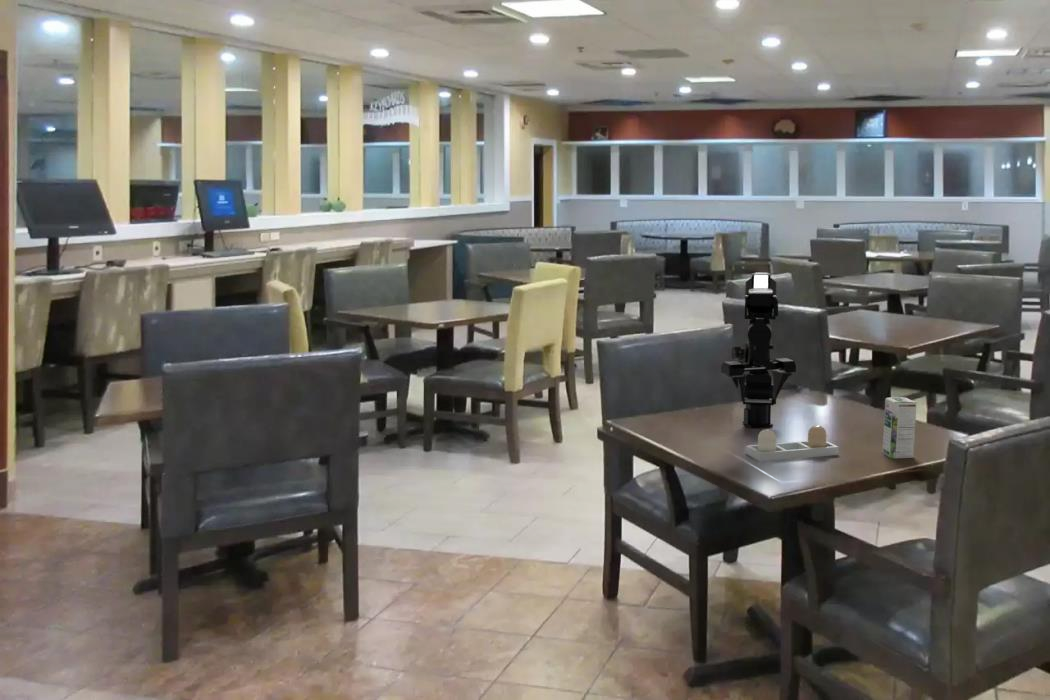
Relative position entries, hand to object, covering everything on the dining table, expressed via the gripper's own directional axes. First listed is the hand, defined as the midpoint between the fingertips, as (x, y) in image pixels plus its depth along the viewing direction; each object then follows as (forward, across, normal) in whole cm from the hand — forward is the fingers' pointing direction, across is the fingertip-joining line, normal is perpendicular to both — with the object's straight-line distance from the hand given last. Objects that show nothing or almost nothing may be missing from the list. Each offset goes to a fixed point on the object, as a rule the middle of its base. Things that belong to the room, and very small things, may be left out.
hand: (758, 399), depth 267 cm
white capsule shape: (+12, +3, +12) cm, 17 cm away
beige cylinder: (+12, -10, +12) cm, 20 cm away
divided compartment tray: (+12, -4, +12) cm, 17 cm away
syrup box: (+12, -28, +20) cm, 37 cm away
